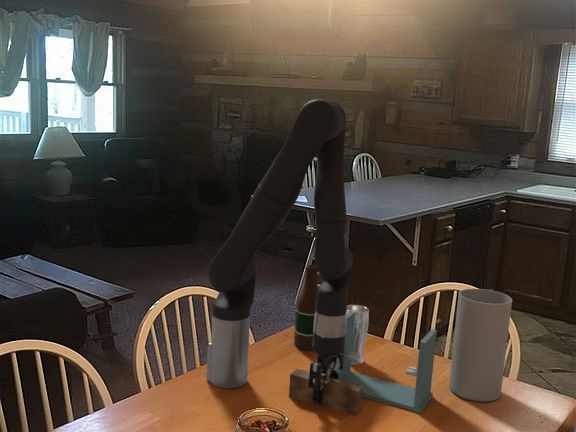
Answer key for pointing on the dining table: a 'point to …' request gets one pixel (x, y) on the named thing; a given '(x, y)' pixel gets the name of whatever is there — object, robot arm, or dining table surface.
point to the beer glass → (359, 330)
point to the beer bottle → (306, 310)
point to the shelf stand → (388, 390)
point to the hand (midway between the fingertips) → (325, 396)
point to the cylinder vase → (480, 344)
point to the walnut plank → (328, 392)
